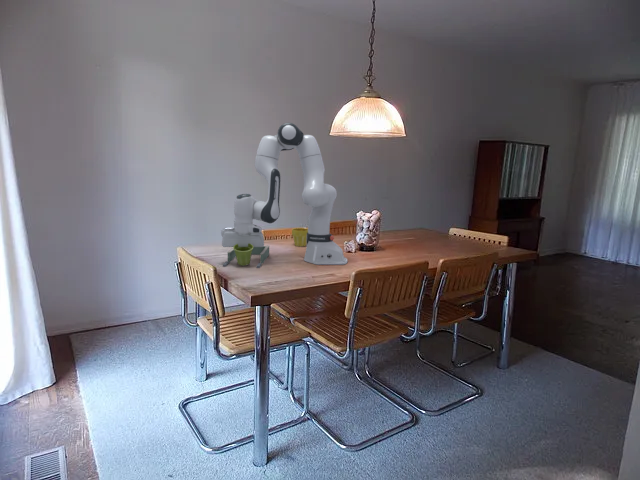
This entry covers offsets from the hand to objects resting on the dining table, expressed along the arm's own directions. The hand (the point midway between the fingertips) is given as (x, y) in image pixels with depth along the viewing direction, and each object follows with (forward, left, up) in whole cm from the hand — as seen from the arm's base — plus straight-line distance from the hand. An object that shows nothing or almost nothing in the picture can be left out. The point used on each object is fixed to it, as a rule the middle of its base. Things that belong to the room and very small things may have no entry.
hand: (242, 255), depth 213 cm
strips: (-1, +6, -4) cm, 7 cm away
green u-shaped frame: (-1, -10, -4) cm, 11 cm away
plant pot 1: (-1, +3, -3) cm, 5 cm away
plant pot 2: (-24, -48, -4) cm, 54 cm away
